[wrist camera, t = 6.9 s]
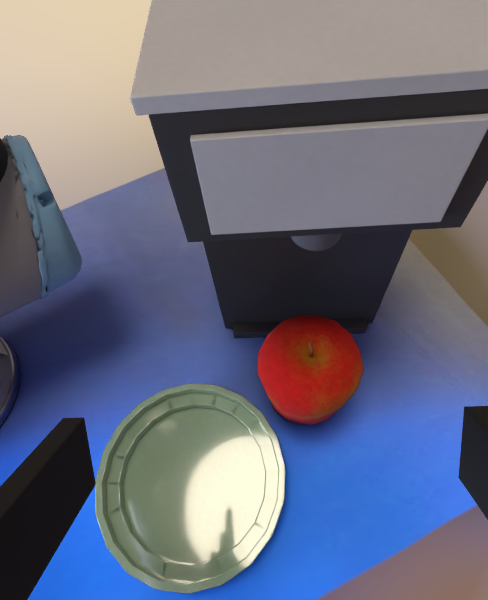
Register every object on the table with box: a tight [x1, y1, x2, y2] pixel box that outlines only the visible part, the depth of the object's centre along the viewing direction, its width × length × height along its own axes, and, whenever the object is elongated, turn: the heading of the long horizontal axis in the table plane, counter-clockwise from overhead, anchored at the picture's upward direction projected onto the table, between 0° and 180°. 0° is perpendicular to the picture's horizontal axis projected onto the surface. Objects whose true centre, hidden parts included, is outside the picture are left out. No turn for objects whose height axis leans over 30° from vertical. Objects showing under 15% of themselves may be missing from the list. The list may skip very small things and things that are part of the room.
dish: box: [95, 383, 286, 594], centre depth 36 cm, size 16×16×3 cm
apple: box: [257, 315, 364, 424], centre depth 35 cm, size 9×8×12 cm
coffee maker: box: [130, 0, 488, 338], centre depth 31 cm, size 12×16×31 cm
